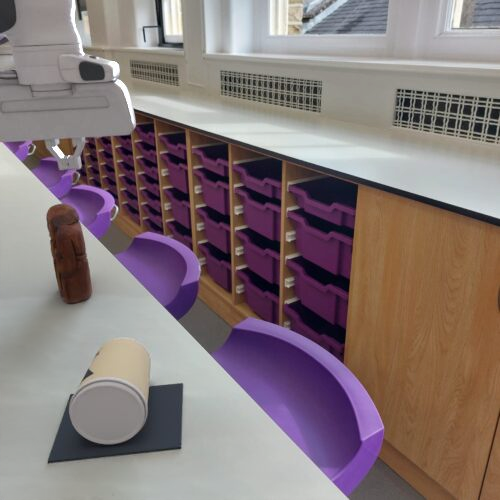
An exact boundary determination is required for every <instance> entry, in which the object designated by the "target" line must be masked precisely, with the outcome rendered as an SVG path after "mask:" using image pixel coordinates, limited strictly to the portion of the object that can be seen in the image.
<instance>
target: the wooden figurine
mask: <svg viewBox="0 0 500 500" xmlns="http://www.w3.org/2000/svg"><path fill="white" fill-rule="evenodd" d="M45 216H46V218H45V219H46V228H47V230H48V236H49V237H50V238H49V239H50V240H49V245H50V252H51V258H52V261H53V262H52V263H53V269H54V272H55V273H54V274H55V278H56V283H57V289H58V290H59V292H60V297H61V299H63V301H64V302H65V303H66V304H74V303H75V304H76V303H79V302H83V301H85V300H87V299H89V298H90V297H91V295H92V293H93V285H92V277H91V271H90V269H91V268H90V265H89V264H90V263H89V260H88V259H89V258H88V253H87V247H86V240H85V237H84V232H83V228H82V225H81V221H80V215H79V214H78V211H77V210H76V208H75V207H74V206H72V205H71V204H68V203H64V202H63V203H57V204H53V205H52V206H50V207H49V208H48V210H47V212H46V215H45Z"/></svg>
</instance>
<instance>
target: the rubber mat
mask: <svg viewBox="0 0 500 500" xmlns="http://www.w3.org/2000/svg"><path fill="white" fill-rule="evenodd" d="M183 393H184V382H180V383H179V382H178V383H177V382H176V383H169V384H158V385H149V392H148V403H147V407H148V413H147V418H146V421H145V424H144V425H143V427H142V428H141V430H140V431H139V432H138V433H137V434H135V435H134V436H133V437H132V438H130V439H129V440H126V441H124V442H121V443H117V444H99V443H96V442H92V441H90V440H88V439H86V438H84V437H83V436H82V435H81V434H79V433H78V432H77V430H76V429H75V428H74V426H73V424H72V421H71V418H70V414H69V405H70V401H71V398H72V396H73V395H74V393H70V394H69V396H68V399H67V403H66V405H65V408H64V412H63V415H62V417H61V421H60V424H59V426H58V430H57V432H56V435H55V438H54V441H53V444H52V447H51V449H50V453H49V456H48V459H47V463H48V464H52V463H60V462H68V461H79V460H87V459H96V458H106V457H117V456H125V455H134V454H135V455H136V454H144V453H152V452H160V451H161V452H162V451H171V450H179V449H182V431H183V429H182V428H183V427H182V426H183V399H184V398H183V397H184V395H183Z"/></svg>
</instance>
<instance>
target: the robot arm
mask: <svg viewBox="0 0 500 500" xmlns="http://www.w3.org/2000/svg"><path fill="white" fill-rule="evenodd" d="M75 17H76V1H75V0H0V46H1V45H4V44H6V43H8V42H9V45H10V50H11V55H12V57H13V63H14V64H13V65H14V68H15V69H10V70H9V69H8V70H1V71H0V143H14V142H15V143H16V142H30V141H31V142H32V141H44V144H45V147H46V150H48V152H49V153H50V154H51V155H52V156H53V157H54V159H56V161H57V167H58V170H59V171H67V170H70V171H71V170H81V169H82V166H83V164H82V158H81V155H82V152H83V150H84V148H85V145H86V138H98V137H99V138H100V137H102V138H103V137H116V136H118V137H119V136H129V135H131V134H132V133H133V132H134V131H135V129H136V127H137V122H136V115H135V109H134V105H133V102H132V99H131V95H130V92H129V89H128V87H127V85H126V84H125V83H124V82H123V81H122V80H121V79H118V78H119V77H120V74H121V71H120V65H119V64H118V63H117V62H116V61H113V60H110V59H106V58H103V57H99V56H97V55H94V54H93V55H91V54H88V53H85V52H84V50H83V43H82V39H81V36H80V34H79V32H78V29H77V26H76V18H75ZM64 139H71V143H72V144H71V145H72V146H73V147H76V148H75V149H74V152H73V154H71V155H69V154H68V155H65V154H64V153H63V152H62V150H61V149H60V148H59V146H58V145H60V140H64Z"/></svg>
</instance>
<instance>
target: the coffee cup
mask: <svg viewBox="0 0 500 500" xmlns="http://www.w3.org/2000/svg"><path fill="white" fill-rule="evenodd" d="M151 361H152V359H151V355H150V353H149V351H148V349H147V348H146V346H144V344H143V343H141V342H140V341H138V340H136V339H134V338H130V337H114V338H112V339H109V340H108V341H106V342H105V343H103V344H102V345H101V346H100V348H99V349H98V351H97V352H96V353H95V355H94V357H93V359H92V361H91V363H90V365H89V366H88V368H87V370H86V372H85V374H84V376H83V378H82V379H81V381H80V383H79V385H78V386H77V388H76V390H75V391H74V392H73V394H74V395H73V396H72V398H71V401H70V405H69V414H70V418H71V421H72V424H73V426H74V428H75V429H76V430H77V432H78V433H79V434H81V435H82V436H83V437H84V438H86V439H88V440H90V441H92V442H96V443H99V444H117V443H121V442H124V441H126V440H129V439H130V438H132V437H133V436H134V435H135V434H137V433H138V432H139V431H140V430H141V428H142V427H143V425H144V424H145V421H146V418H147V413H148V407H147V403H148V392H149V386H150V378H151V367H152V366H151V364H152V363H151Z"/></svg>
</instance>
